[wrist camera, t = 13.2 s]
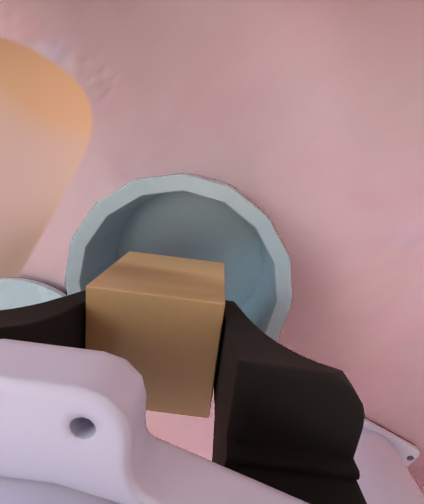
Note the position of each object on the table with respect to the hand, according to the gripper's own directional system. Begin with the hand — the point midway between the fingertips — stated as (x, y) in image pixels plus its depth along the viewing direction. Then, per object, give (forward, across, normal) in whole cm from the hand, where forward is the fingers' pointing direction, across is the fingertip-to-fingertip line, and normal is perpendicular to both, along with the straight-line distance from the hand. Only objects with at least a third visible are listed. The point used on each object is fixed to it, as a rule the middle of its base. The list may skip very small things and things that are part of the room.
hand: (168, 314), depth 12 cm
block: (+1, 0, 0) cm, 1 cm away
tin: (+8, 0, 0) cm, 8 cm away
